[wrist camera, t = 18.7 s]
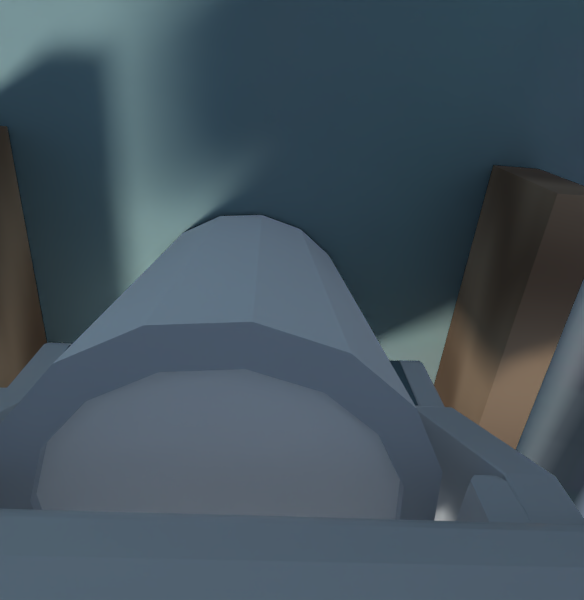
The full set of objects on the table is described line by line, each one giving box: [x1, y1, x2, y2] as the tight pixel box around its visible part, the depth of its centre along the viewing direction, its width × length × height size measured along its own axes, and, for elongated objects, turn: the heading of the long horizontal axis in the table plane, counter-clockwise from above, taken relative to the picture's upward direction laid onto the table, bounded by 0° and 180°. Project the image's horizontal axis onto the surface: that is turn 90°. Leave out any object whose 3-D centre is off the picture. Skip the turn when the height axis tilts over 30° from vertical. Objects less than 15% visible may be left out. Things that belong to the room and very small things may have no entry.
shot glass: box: [0, 215, 443, 521], centre depth 10 cm, size 7×7×7 cm
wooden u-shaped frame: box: [0, 126, 584, 450], centre depth 14 cm, size 17×14×3 cm
